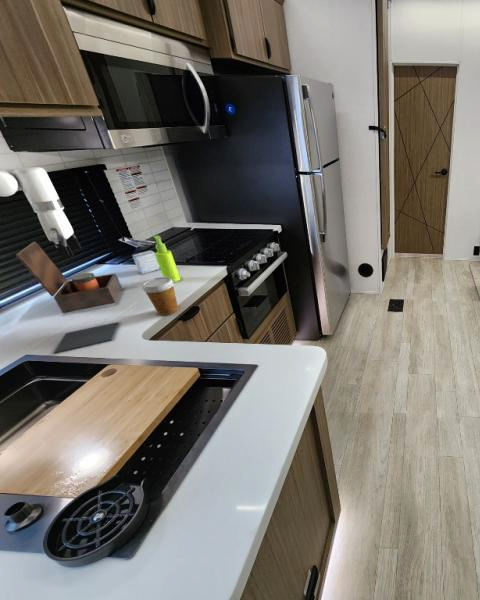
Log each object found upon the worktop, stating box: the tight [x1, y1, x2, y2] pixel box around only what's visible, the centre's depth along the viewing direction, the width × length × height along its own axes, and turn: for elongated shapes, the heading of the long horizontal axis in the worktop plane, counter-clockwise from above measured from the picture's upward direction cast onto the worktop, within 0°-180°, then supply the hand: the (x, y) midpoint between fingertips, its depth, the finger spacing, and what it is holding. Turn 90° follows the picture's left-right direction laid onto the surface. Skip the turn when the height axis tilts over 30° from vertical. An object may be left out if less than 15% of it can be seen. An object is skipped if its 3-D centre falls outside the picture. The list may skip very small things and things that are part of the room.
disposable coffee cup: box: [141, 276, 179, 316], centre depth 120 cm, size 10×10×12 cm
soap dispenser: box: [152, 235, 182, 283], centre depth 143 cm, size 6×7×20 cm
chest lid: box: [15, 241, 68, 297], centre depth 119 cm, size 16×16×1 cm
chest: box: [53, 272, 123, 314], centre depth 129 cm, size 16×16×7 cm
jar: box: [70, 272, 100, 292], centre depth 128 cm, size 7×7×10 cm
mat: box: [54, 321, 119, 354], centre depth 108 cm, size 14×12×1 cm
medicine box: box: [131, 250, 161, 275], centre depth 155 cm, size 8×4×9 cm, turn 144°
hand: (72, 253), depth 121 cm, fingers open, 9 cm apart
